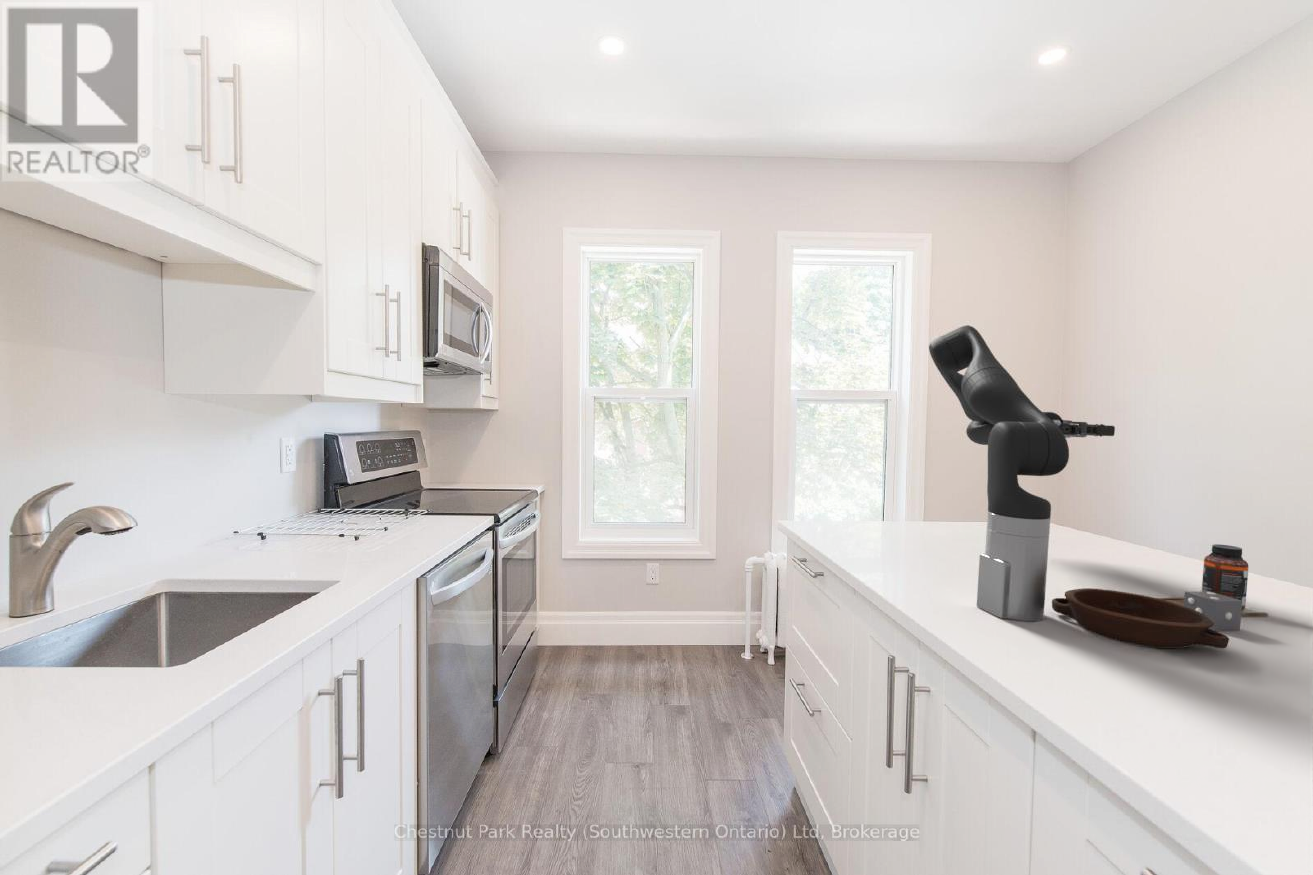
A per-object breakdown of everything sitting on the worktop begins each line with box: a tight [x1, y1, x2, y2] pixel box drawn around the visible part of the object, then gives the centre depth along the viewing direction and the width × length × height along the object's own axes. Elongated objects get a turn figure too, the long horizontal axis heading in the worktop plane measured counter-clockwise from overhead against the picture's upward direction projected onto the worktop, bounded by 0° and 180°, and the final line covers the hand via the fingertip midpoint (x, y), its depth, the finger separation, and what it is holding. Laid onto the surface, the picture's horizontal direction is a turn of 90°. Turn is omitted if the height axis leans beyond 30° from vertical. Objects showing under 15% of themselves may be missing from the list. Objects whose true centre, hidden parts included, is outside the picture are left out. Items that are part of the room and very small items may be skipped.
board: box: [1157, 597, 1269, 618], centre depth 107 cm, size 21×9×1 cm, turn 98°
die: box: [1183, 590, 1242, 632], centre depth 98 cm, size 5×5×5 cm
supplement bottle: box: [1201, 543, 1249, 610], centre depth 107 cm, size 6×6×11 cm
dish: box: [1051, 587, 1230, 649], centre depth 93 cm, size 18×22×5 cm
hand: (1095, 430), depth 122 cm, fingers open, 8 cm apart
